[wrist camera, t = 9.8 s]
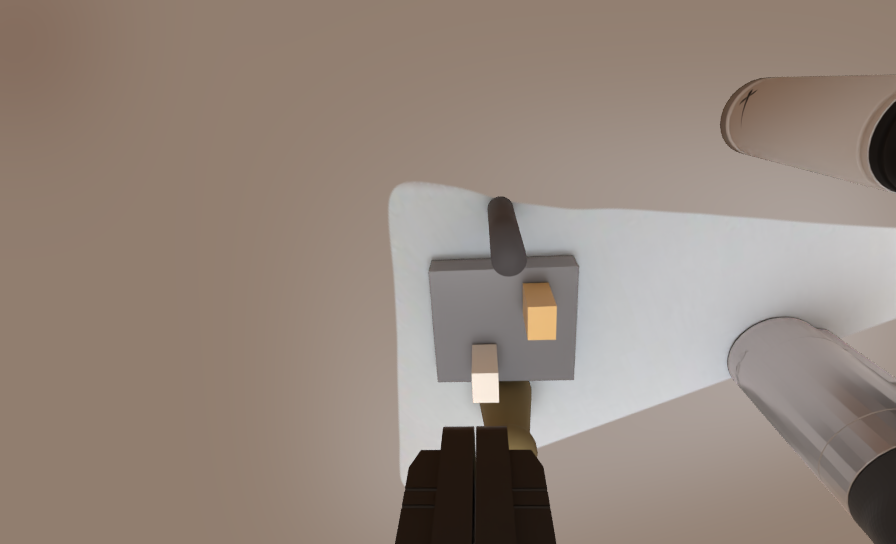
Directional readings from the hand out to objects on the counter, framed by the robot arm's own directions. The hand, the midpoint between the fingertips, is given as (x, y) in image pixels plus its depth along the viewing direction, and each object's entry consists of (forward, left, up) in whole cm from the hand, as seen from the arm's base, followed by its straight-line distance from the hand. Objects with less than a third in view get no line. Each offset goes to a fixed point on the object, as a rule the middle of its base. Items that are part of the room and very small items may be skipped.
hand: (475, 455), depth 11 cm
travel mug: (-24, -4, -35) cm, 43 cm away
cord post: (-2, +3, -35) cm, 35 cm away
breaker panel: (-2, +14, -35) cm, 38 cm away
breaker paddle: (-5, +11, -32) cm, 34 cm away
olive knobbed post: (-2, +24, -35) cm, 43 cm away
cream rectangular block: (0, +18, -32) cm, 36 cm away
